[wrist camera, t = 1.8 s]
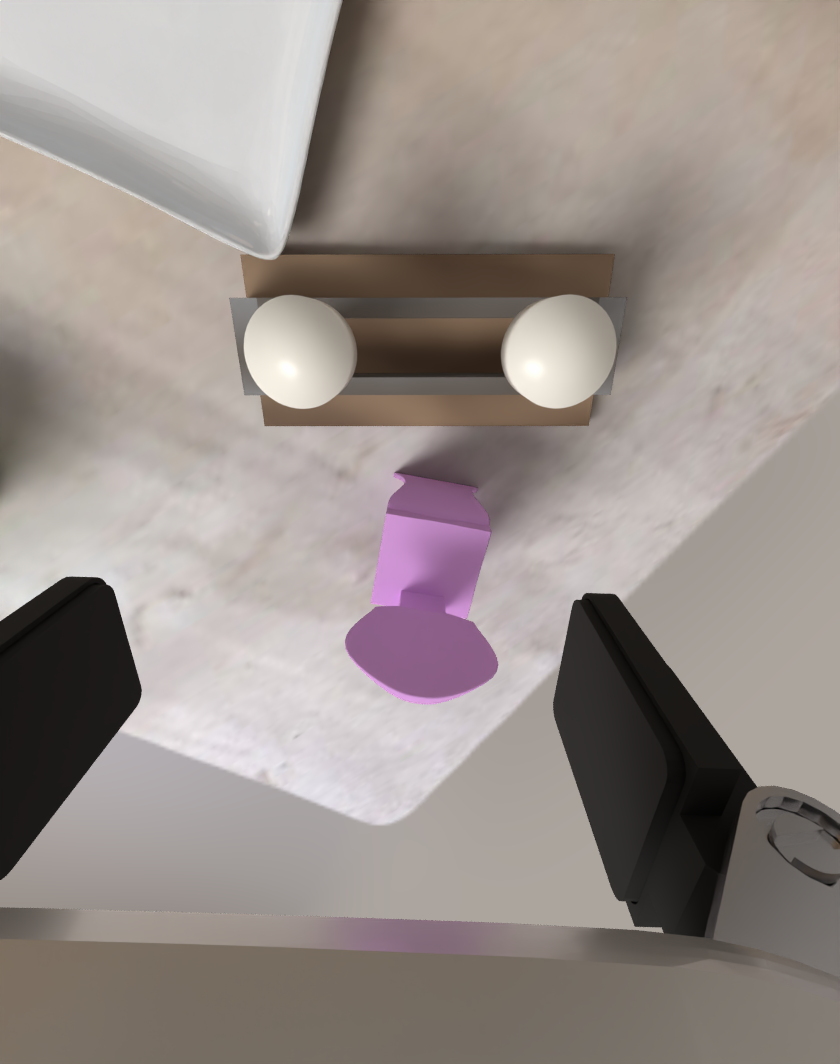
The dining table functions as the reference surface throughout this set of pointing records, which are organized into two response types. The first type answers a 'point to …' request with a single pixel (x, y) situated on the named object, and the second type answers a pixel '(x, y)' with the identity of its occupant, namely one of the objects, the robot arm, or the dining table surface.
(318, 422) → the mount
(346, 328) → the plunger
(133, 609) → the dining table surface
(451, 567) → the toy chair
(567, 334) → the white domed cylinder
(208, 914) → the robot arm
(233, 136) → the salad plate
